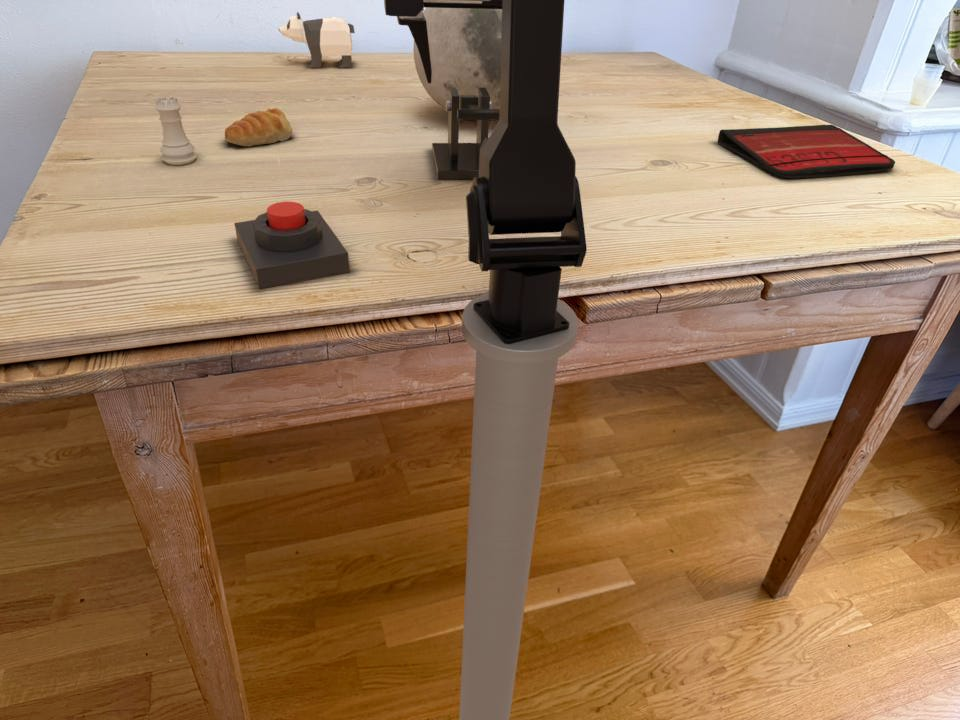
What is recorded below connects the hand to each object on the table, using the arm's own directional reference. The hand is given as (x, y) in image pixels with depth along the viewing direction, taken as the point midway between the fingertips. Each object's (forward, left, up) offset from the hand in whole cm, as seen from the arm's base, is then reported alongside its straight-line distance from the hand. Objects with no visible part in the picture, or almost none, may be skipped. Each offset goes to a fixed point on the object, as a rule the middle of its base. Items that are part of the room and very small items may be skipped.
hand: (468, 82), depth 78 cm
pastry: (+29, +19, -14) cm, 38 cm away
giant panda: (+70, -2, -14) cm, 72 cm away
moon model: (+29, -16, -14) cm, 36 cm away
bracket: (+9, -5, -14) cm, 17 cm away
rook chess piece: (+24, +31, -14) cm, 42 cm away
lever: (+5, -3, -6) cm, 8 cm away
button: (-9, +24, -10) cm, 28 cm away
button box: (-9, +24, -14) cm, 29 cm away
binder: (-6, -55, -14) cm, 57 cm away
